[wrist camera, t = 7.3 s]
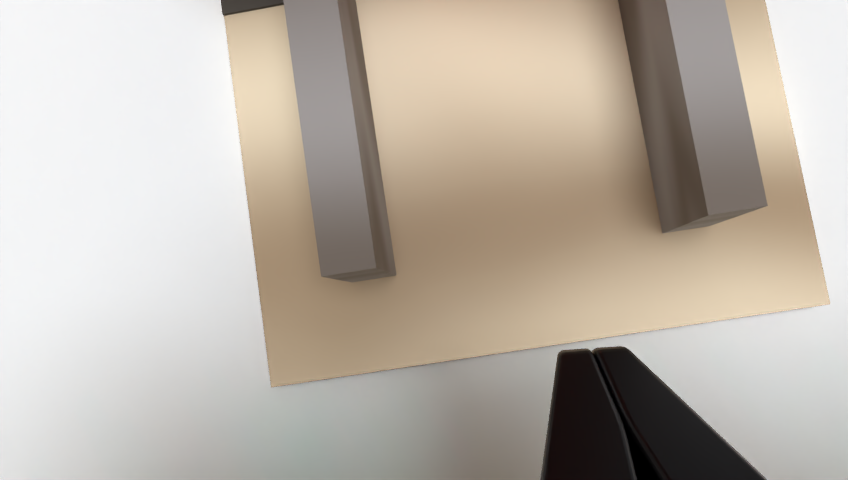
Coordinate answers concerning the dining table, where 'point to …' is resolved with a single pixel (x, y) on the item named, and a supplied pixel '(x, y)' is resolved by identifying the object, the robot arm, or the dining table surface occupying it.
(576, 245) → the beige base board
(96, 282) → the dining table surface
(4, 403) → the dining table surface
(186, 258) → the dining table surface
